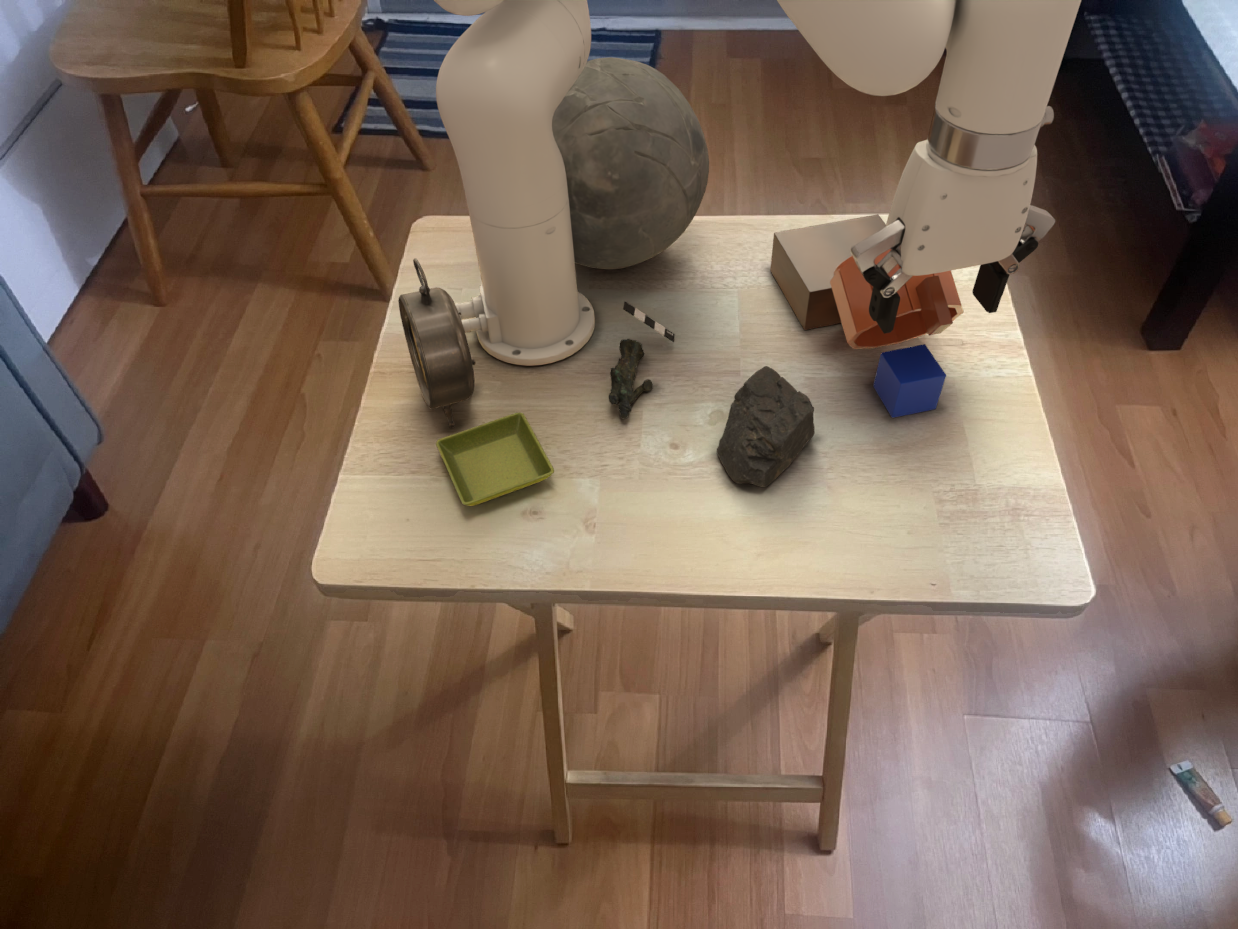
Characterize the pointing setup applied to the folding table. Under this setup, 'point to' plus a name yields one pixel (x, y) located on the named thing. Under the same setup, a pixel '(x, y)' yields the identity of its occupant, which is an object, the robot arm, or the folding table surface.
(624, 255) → the grey scuffed sphere
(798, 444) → the rock
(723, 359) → the folding table surface
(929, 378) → the cube
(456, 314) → the alarm clock
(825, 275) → the stand
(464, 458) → the green rectangular tray
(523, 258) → the robot arm
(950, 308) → the orange stave bucket
